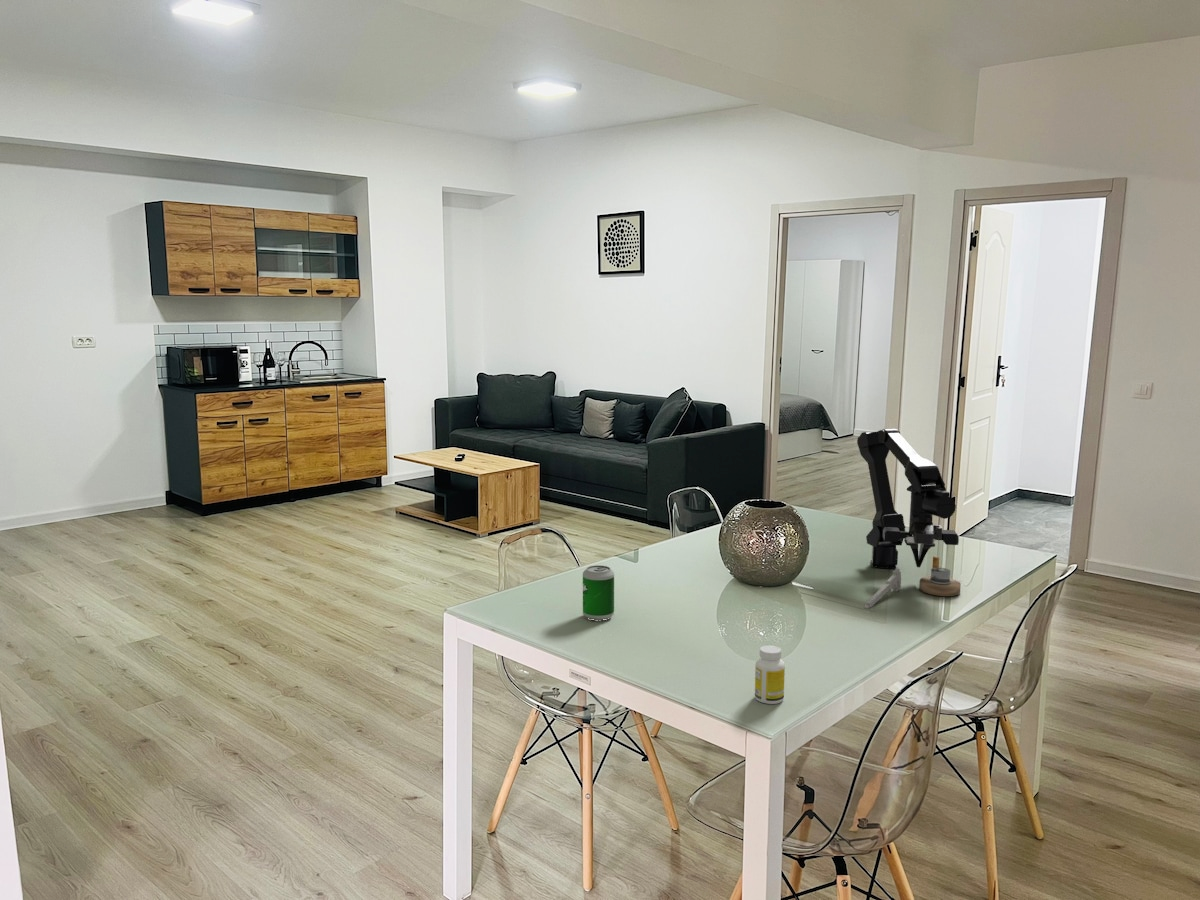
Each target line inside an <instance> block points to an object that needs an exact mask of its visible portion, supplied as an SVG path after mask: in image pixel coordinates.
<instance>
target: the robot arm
mask: <svg viewBox="0 0 1200 900" xmlns="http://www.w3.org/2000/svg"><path fill="white" fill-rule="evenodd" d="M856 443H857V444H856V445H857V447H858V450H859V454H860V456H861V458H863V459H864V461H865V462H866V463H867V466H868V471H869V476H870V483H871V488H872V494H873V495H872V496H873V501H874V505H875V506H874V507H875V511H876V512H875V515H874V516H873V519H872V522H871V523H872V529H871V530H870V531H869V532H868V534H867V535H866V536H865V537H866V538H865V539H866V544H867V545H870V546H871V548H872V549H871V559H870V563H871V566H872V568H878V569H879V568H880V569H893V570H895V569H896V568H897V566H898V558H899V552H898V551H899V550H898V549H897V546H902V545H903V543H905V545H906V546H908V547H909V546H910V550H911V551H912V555H913V558H914V563H915V565H916V568H921V566H922V564H923V562H924V560H925V557H926V555H927V553H928V551H929V550H930V549H931V548H935V546H936V543H935V542H936V541H943V543H944V544H945V546H946V545H948V546H949V545H950V546H958V545H959V541H960V540H959V539H960V538H959V535H958V534H957V532H956V531H955V530H953V529H943V527H942V525H941V524H939V525H937V524H934V523H933V516H934V517H938V518H941V519H949V518H950V517H952V516H953V515H954V513H955V511H956V509H957V507H956V506H957V505H956V503H955V501H954V499H953V498H952V497H951V496H950V494H951V493H950V492H949V491H947V489H946V488H947V487H946V486H945V485H946V483H945V481H944V479H943V476H942V474H941V471H940V470H939V469H940V468H939V467H938V466H937V465H936V464H935V463H934V462H932V461H931V460H930V459H928V458H924V457H922V456H921V455H919V453H917V452H916V450H915V449H914V448H913V447H912V446H911V445H910V444H909V443H908V442H907V440H906V439H905V438H904V437H903V436H902V435H901V432H900V430H899V429H896V428H882V429H881V430H877V431H864V432H861V433H860V435H859V436H858V437H857V442H856ZM890 452H891V454H892V455H893V456H894V457H895V458H896V459H897V460H898V462H899V463H900V464H901V465H902V466H903V468H904V475H905V477H906V479H907V481H908V482H909V484H910V485H909V486H908V487H906V490H907V492H910V507H909V523H908V524H909V525H908V531H906V525H905V522H904V520H905V519H904V516H903V514H902V513H898V512H897V510H896V509H895V507H894V500H893V495H892V489H891V485H890V479H889V474H888V473H889V472H888V468H887V462H886V459H887V458H888V455H889V453H890Z"/></svg>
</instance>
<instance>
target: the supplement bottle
mask: <svg viewBox="0 0 1200 900" xmlns="http://www.w3.org/2000/svg"><path fill="white" fill-rule="evenodd" d="M781 658H782V649H781V647H779V646H775V645H762V646H761V647H759V658H758V659H756V661H755V674H754V675H755V677H754V679H755V680H754V697H755V699H756V701H758V702H760V703H762V704H768V705H777V704H780V703H782V702H783V700H784V699H785V698H784V697H785V671H786V670H785V669H786V668H785V667H786V666H785V662H784V660H782V659H781Z"/></svg>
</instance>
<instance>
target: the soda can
mask: <svg viewBox="0 0 1200 900" xmlns="http://www.w3.org/2000/svg"><path fill="white" fill-rule="evenodd" d="M582 614H583V616H585V618H586V617H587V618H589V619H594V620H603V619H608V618H610V617H613V616H614V614H615V572H614V570H612V569H611V567H610V566H607V565H602V564H601V565H598V564H597V565H590V566H588V567H586V569H585V570H584V571H582ZM587 618H586V619H587ZM610 619H611V618H610Z"/></svg>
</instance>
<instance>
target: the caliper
mask: <svg viewBox="0 0 1200 900" xmlns="http://www.w3.org/2000/svg"><path fill="white" fill-rule="evenodd" d="M901 576H902V573H901V570H900V568H897V567H896V569H893V574H892V575H891V576H890V577H889V578H888V579H887V580H886V582H885V583H884V584H883V586H881V587H880V588H879V589H878V590H877V591H876V592H875V593H874V594H873V595H872V596H871V597H870V598H869V599H868V600H867V601H866V602H865V605H864V606H863V608H864V609H868V610H869V608H872V607H873V606H874V605H876V603H877V602H878V601H879V600H881V599H882V597H884V595H885V594H886V593H887V592H888V591H889V592H890V591H893V592H896V591H897V592H898V591H900V590H901V587H902V585H901V584H902V577H901Z"/></svg>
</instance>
